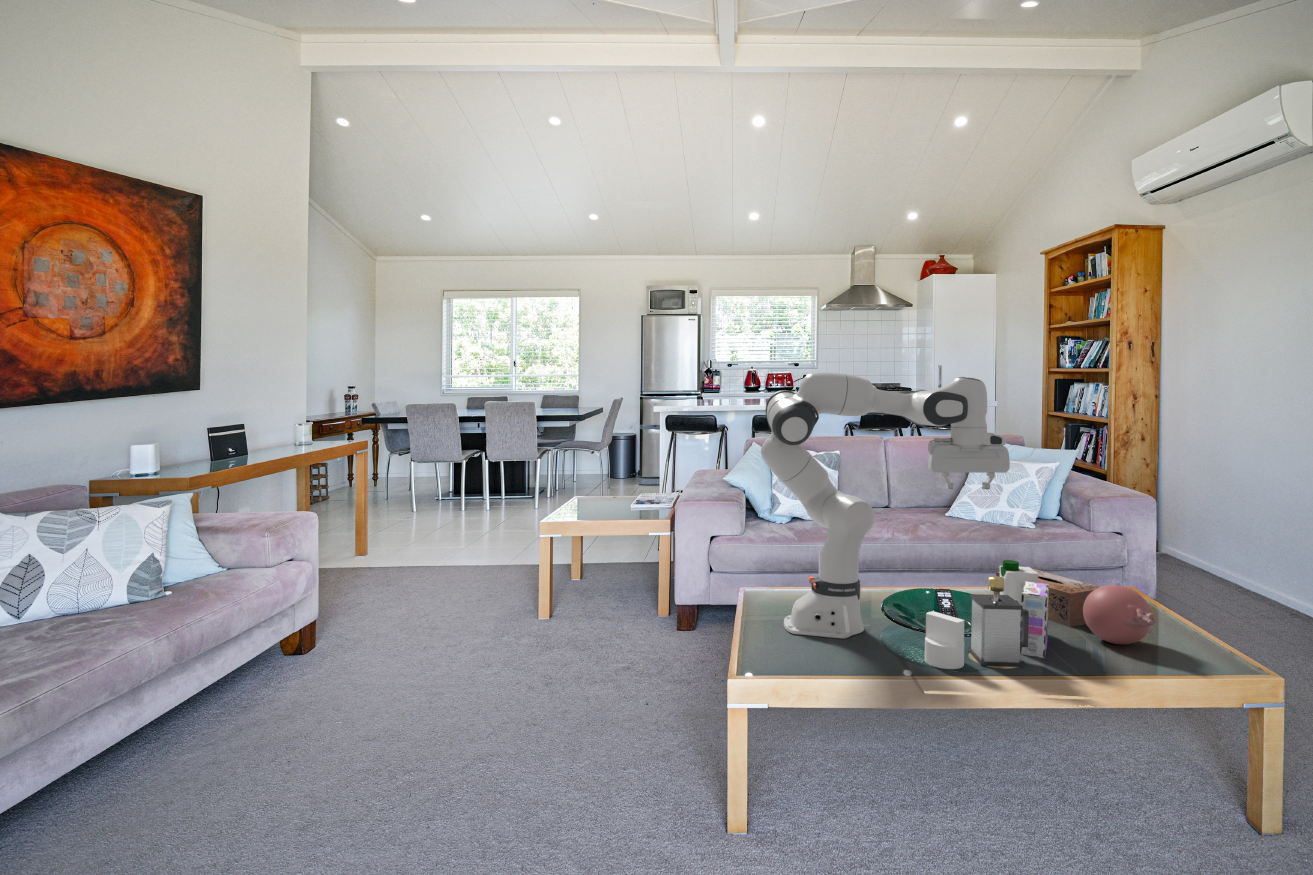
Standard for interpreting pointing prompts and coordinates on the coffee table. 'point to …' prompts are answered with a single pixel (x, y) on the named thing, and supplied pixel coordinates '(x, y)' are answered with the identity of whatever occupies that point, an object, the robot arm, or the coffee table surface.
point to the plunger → (996, 585)
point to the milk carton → (1016, 579)
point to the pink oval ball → (1117, 614)
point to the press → (998, 630)
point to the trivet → (989, 666)
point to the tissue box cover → (1065, 598)
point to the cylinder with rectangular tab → (944, 641)
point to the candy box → (1036, 618)
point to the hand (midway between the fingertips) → (967, 489)
